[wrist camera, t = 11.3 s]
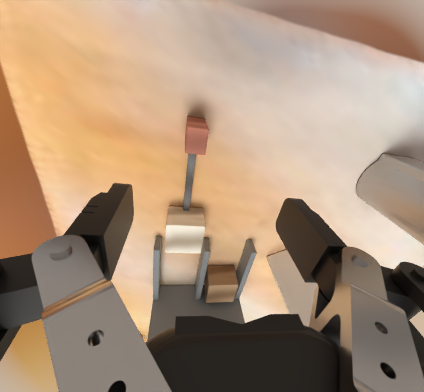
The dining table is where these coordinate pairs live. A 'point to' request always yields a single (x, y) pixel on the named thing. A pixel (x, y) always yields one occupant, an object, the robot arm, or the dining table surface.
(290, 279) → the milk carton
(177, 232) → the corded block
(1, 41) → the dining table surface
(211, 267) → the walnut block
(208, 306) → the lane rack
